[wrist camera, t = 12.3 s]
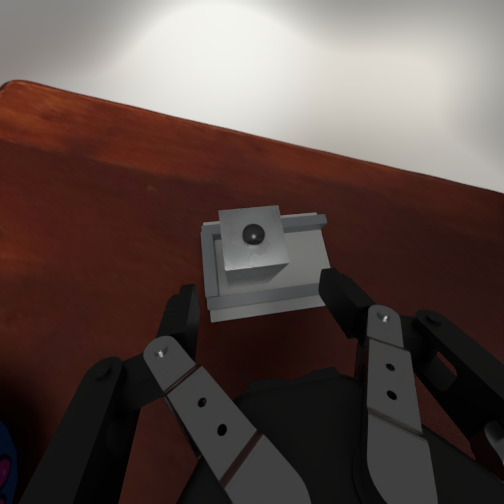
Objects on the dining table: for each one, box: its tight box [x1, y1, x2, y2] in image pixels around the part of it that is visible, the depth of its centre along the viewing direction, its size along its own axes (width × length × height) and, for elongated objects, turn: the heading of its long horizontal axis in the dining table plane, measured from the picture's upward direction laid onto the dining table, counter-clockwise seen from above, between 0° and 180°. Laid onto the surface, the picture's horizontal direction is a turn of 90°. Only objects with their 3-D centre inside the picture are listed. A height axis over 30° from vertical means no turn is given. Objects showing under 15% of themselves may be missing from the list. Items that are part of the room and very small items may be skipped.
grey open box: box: [201, 213, 330, 323], centre depth 24 cm, size 15×12×4 cm
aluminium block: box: [219, 205, 290, 288], centre depth 19 cm, size 5×5×10 cm
